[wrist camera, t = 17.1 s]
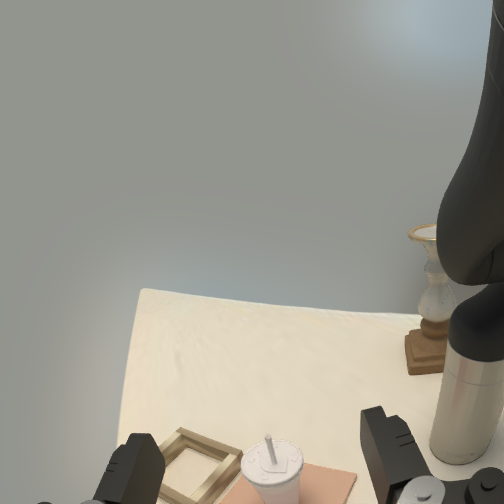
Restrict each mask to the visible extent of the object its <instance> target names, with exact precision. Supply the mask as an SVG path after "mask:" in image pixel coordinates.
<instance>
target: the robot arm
mask: <svg viewBox="0 0 504 504" xmlns="http://www.w3.org/2000/svg"><path fill="white" fill-rule="evenodd" d="M436 246H437V253H438V257H439V260H440V263H441V265H442V267H443V269H444V271H445V273H446V274H447V276H448V277H450V278H451V279H452V280H453V281H455V282H457V283H458V284H463V285H470V286H474V285H482V284H489V285H488V286H487V287H486V288H484V289H483V290H482V291H481V292H479V293H478V294H476V295H475V296H473V297H471V298H469V299H467V300H465V301H464V302H462V303H461V304H460V305H458V306H457V307H456V308H455V309H454V311H453V313H452V315H451V317H450V322H449V330H448V340H447V349H446V357H445V365H444V371H443V378H442V384H441V389H440V395H439V400H438V405H437V410H436V414H435V418H434V423H433V427H432V431H431V435H430V440H429V442H430V448H431V451H432V452H433V454H434V455H435V456H436V457H437V458H438V459H440V460H442V461H443V462H446V463H449V464H465V463H469V462H472V461H474V460H476V459H477V458H479V457H480V456H481V455H482V454H483V453H484V452H485V450H486V448H487V447H488V444H489V442H490V440H491V437H492V435H493V433H494V430H495V428H496V425H497V423H498V420H499V418H500V415H501V412H502V409H503V407H504V0H493V7H492V19H491V29H490V39H489V46H488V53H487V63H486V71H485V80H484V86H483V92H482V97H481V102H480V106H479V110H478V114H477V118H476V122H475V126H474V129H473V132H472V135H471V138H470V141H469V144H468V147H467V150H466V152H465V154H464V157H463V159H462V161H461V163H460V165H459V167H458V169H457V171H456V173H455V175H454V177H453V179H452V180H451V182H450V184H449V186H448V188H447V190H446V192H445V194H444V197H443V200H442V203H441V205H440V209H439V213H438V219H437V226H436ZM360 441H361V447H362V451H363V454H364V457H365V461H366V464H367V467H368V470H369V474H370V477H371V480H372V483H373V487H374V490H375V493H376V497H377V500H378V504H504V473H503V472H502V471H501V470H500V469H497V468H493V467H487V468H483V469H481V470H479V471H477V472H476V473H475V474H474V475H473V476H472V478H471V479H466V480H459V481H442V480H439V479H438V478H436V477H434V476H433V475H432V474H431V472H430V471H429V468H428V466H427V464H426V462H425V460H424V458H423V456H422V454H421V452H420V450H419V448H418V445H417V443H415V439H414V437H413V435H411V431H410V429H409V427H408V425H407V423H406V422H405V421H404V420H402V419H401V418H400V417H398V416H397V415H394V416H391V417H386V415H385V412H384V410H383V408H382V407H381V406H377V407H373V408H369V409H365V410H361V421H360ZM165 467H166V465H165V459H164V456H163V455H162V453H161V451H160V449H159V448H158V446H157V444H156V442H155V440H154V438H153V437H152V435H151V434H148V433H131V434H130V436H129V438H128V440H127V442H126V445H122V444H121V445H120V446H119V447H118V448H117V449H116V450H115V451H114V453H113V454H112V457H111V459H110V461H109V464H108V465H107V468H106V472H104V474H103V477H102V479H101V481H100V484H99V486H98V488H97V490H96V493H95V495H94V497H93V499H92V500H88V501H85V502H83V503H81V504H156V501H157V498H158V494H159V491H160V487H161V483H162V480H163V476H164V473H165ZM38 504H51V503H49V502H41V503H38Z"/></svg>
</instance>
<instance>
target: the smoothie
mask: <svg viewBox="0 0 504 504" xmlns="http://www.w3.org/2000/svg"><path fill="white" fill-rule="evenodd" d="M265 440H266V441H263V442H260V443H258V444H256V445H254V446H252V447H251V448H250V449H248V450H247V451H246V453H245V454H244V455H243V457H242V460H241V470H242V474H243V476H244V478H245V479H246V481H247V482H249V483H250V484H251V485H253V487H254V488H255V489H256V491H257V492H258V494H259V495H260V497H261V498H262V500H263V501H264V502H265V504H298V503H299V489H300V475H301V472H302V470H303V467H304V459H303V456H302V452H301V450H300V449H299V448H298V447H297V446H296V445H295V444H293V443H291V442H289V441H285V440H279V439H274V440H272V439H271V436H270V435H266V436H265Z"/></svg>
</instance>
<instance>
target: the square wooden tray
mask: <svg viewBox="0 0 504 504" xmlns="http://www.w3.org/2000/svg"><path fill="white" fill-rule="evenodd" d="M187 446H188V447H190V448H192V449H194V450H197V451H199V452H201V453H204V454H206V455H208V456H211V457H213V458H216V459H218V460H221V461H223V462H222V463H221V464H220V465H219V466H218V467H217V468H216V470H215V471H214V472H213V473H212V474H211V475H210V476H209V477H208V479H207V480H206V481H205V482H204V483H203V484H202V485H201V486H200V487H199V488H198V489H197V490H196V492H195V493H194V494H193V495H192V496H191V497H190V498H188V497H186V496H184V495H182V494H180V493H179V492H177V491H175V490H173V489H171V488H170V487H168V486H166V485H164V484H163V483H161V487H160V491H159V494H158V496H159V497H161V498H162V499H164V500H166V501H167V502H169V503H171V504H212V503H213V502H214V501H215V499H216V498H217V497H218V496H219V495H220V494H221V493H222V491H223V490H224V489H225V488H226V487H227V485H228V484H229V483H230V482H231V481H232V479H233V478H234V477H235V476H236V475H237V473H238V472H239V471H240V470H241V460H242V457H243V453H242V450H239V449H236V448H233V447H231V446H228V445H225V444H222V443H220V442H217V441H214V440H212V439H209V438H206V437H204V436H201V435H199V434H196V433H194V432H191V431H189V430H187V429H184V428H182V427H180V428H179V429H178V430H176V431H175V432H174V433H173V434H172V435H171V436H170V437H169V438H168V439H167V440H166V441H165V442H163V443H162V444H161V445H160V446H159V447H158V448H159V449H160V451H161V453H162V455H163V456H164V459H165V465H166V466H167V465H168V464H169V463H170V462H171V461H172V460H174V459H175V458H176V457H177V456H178V455H179V454H180V453H181V452H182V451H183V450H184V449H185V448H186V447H187Z"/></svg>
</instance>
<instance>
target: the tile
mask: <svg viewBox="0 0 504 504" xmlns="http://www.w3.org/2000/svg"><path fill="white" fill-rule="evenodd" d="M356 477H357V473H351V472H345V471H340V470H335V469H330V468H325V467H320V466H316V465H311V464H307V463H304V467H303V470H302V472H301V475H300V489H299V503H298V504H344V503H345V501H346V499H347V497H348V495H349V493H350V491H351V488H352V486H353V484H354V482H355V480H356ZM219 504H265V502H264V501H263V500H262V498H261V497H260V495H259V494H258V492H257V491H256V489H255V488H254V487H253V485H251V484H250V483H249V482H247V481H246V479H245V478H244V476H243V475H242V477H241V478H240V479H239V480H238V482H237V483H236V484H235V485H234V487H233V488H232V489H231V490H230V491H229V493H228V494H227V495H226V496H225V497H224V499H223V500H222V501H221V502H220V503H219Z"/></svg>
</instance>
